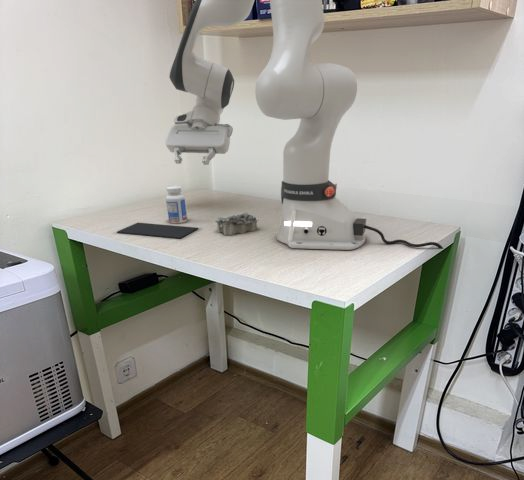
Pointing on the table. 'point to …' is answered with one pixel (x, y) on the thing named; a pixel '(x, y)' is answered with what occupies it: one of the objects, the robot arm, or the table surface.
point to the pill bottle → (176, 205)
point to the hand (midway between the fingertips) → (191, 162)
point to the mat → (158, 230)
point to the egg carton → (236, 224)
